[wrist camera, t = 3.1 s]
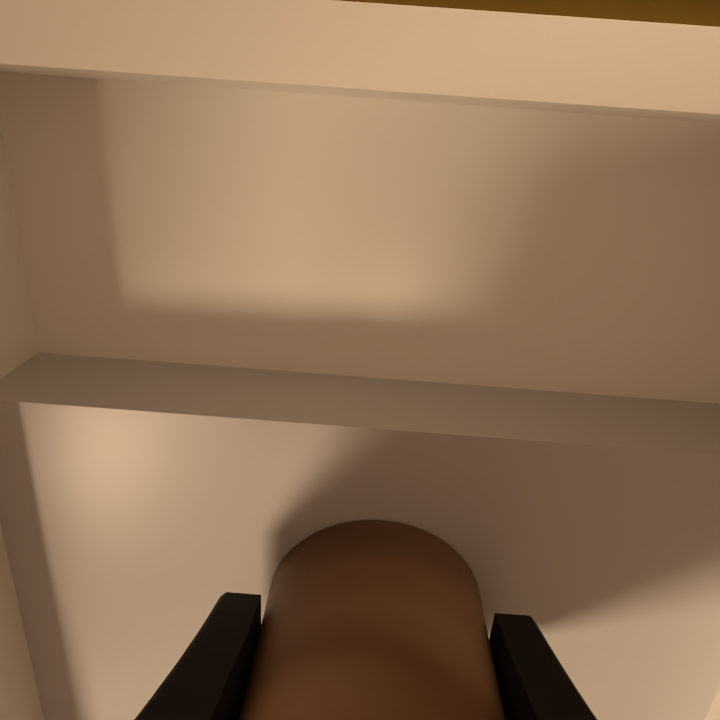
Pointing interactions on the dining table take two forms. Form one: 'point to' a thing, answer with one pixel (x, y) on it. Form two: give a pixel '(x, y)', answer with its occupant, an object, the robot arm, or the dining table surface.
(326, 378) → the open box
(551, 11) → the dining table surface
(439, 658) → the walnut cylinder
